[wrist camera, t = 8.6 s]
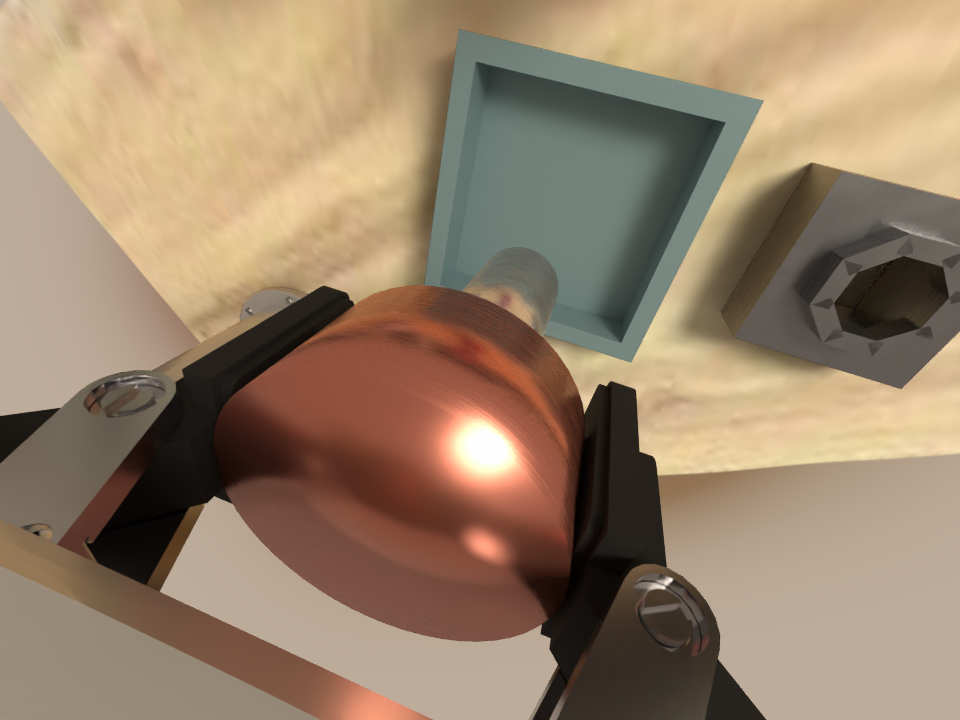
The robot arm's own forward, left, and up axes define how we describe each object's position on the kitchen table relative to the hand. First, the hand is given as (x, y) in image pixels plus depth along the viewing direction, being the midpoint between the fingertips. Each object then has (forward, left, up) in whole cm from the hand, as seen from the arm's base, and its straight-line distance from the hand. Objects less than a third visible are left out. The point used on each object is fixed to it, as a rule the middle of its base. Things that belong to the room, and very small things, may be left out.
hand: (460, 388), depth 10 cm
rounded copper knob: (0, 0, -7) cm, 7 cm away
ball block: (+1, -18, -23) cm, 29 cm away
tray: (0, 0, -23) cm, 23 cm away
